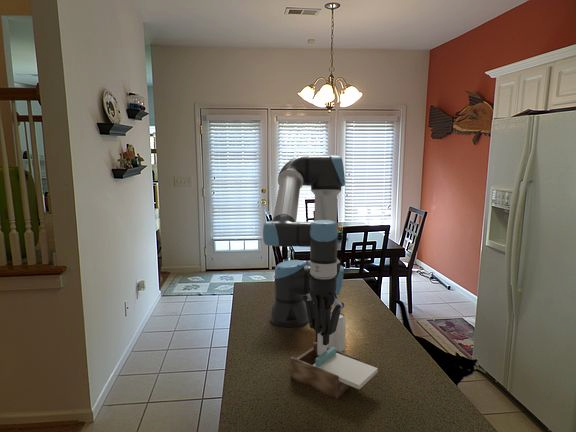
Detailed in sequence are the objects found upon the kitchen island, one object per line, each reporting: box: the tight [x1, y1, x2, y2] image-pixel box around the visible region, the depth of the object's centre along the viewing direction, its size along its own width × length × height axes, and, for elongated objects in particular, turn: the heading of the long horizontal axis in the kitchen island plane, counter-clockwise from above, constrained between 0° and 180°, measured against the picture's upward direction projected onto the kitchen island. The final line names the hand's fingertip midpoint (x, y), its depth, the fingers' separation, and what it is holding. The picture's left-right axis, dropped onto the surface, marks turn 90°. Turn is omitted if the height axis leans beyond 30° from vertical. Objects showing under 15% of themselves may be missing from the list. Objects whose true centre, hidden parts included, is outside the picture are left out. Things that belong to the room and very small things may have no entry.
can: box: [327, 311, 346, 353], centre depth 131 cm, size 6×6×12 cm
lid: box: [313, 347, 379, 390], centre depth 109 cm, size 15×10×3 cm
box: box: [289, 341, 360, 400], centre depth 114 cm, size 16×12×6 cm
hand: (322, 353), depth 113 cm, fingers closed
